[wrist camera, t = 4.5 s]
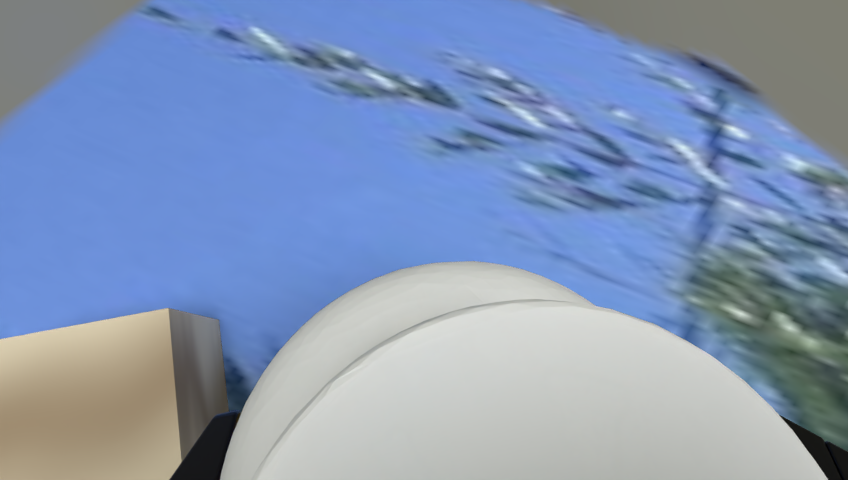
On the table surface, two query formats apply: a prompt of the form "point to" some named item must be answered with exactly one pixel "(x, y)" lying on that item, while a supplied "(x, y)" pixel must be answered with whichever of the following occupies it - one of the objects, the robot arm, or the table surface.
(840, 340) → the table surface
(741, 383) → the supplement bottle
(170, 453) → the beech block
